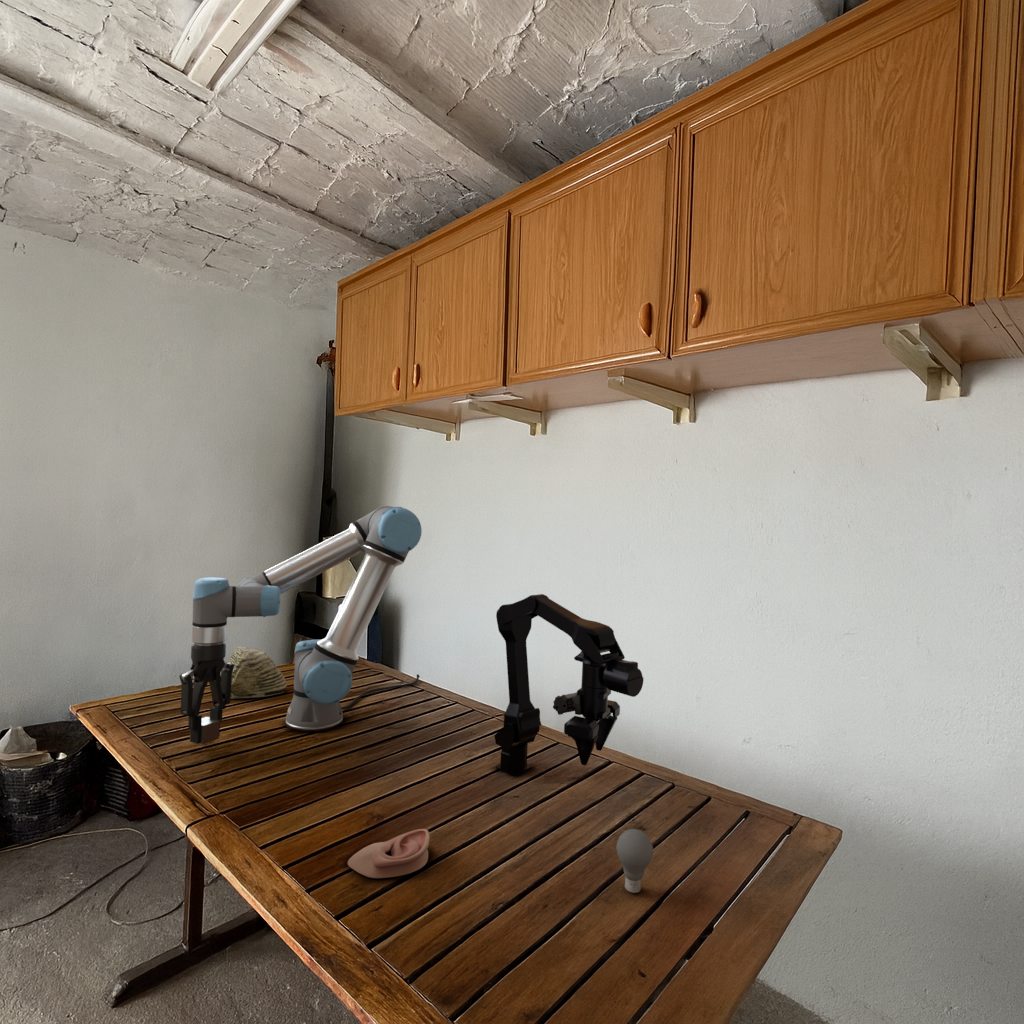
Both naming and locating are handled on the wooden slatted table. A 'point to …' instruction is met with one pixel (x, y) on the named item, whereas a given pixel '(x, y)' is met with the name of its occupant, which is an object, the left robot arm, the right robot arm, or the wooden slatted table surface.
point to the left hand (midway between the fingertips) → (205, 738)
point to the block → (209, 730)
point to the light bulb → (634, 857)
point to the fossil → (255, 674)
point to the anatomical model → (393, 856)
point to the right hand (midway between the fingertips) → (591, 757)
